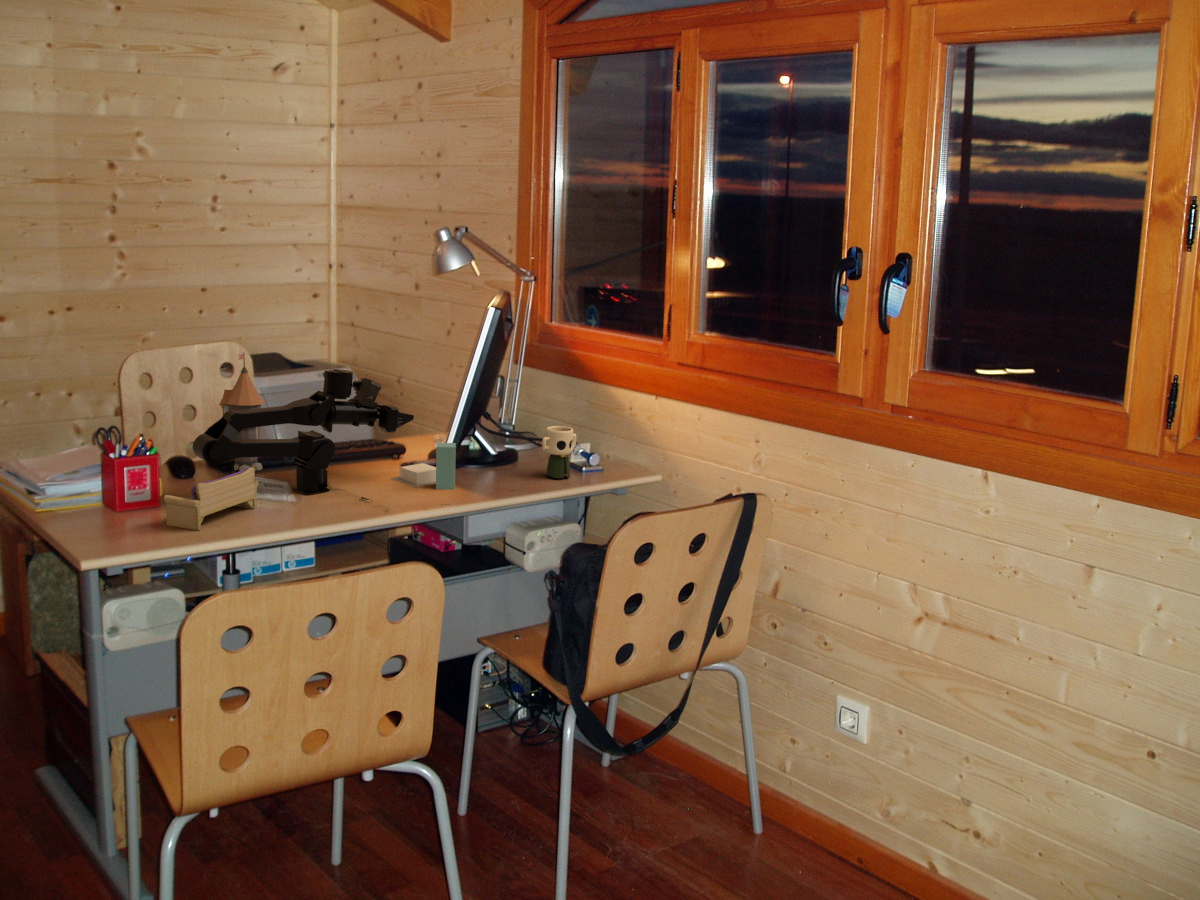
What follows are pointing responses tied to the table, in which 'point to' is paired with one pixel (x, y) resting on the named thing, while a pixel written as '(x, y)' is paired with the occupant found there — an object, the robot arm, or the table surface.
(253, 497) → the toy sofa
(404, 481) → the grey baseplate
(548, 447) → the character mug
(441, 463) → the teal column brick
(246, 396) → the model tower
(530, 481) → the table surface
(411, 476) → the cream slab brick
